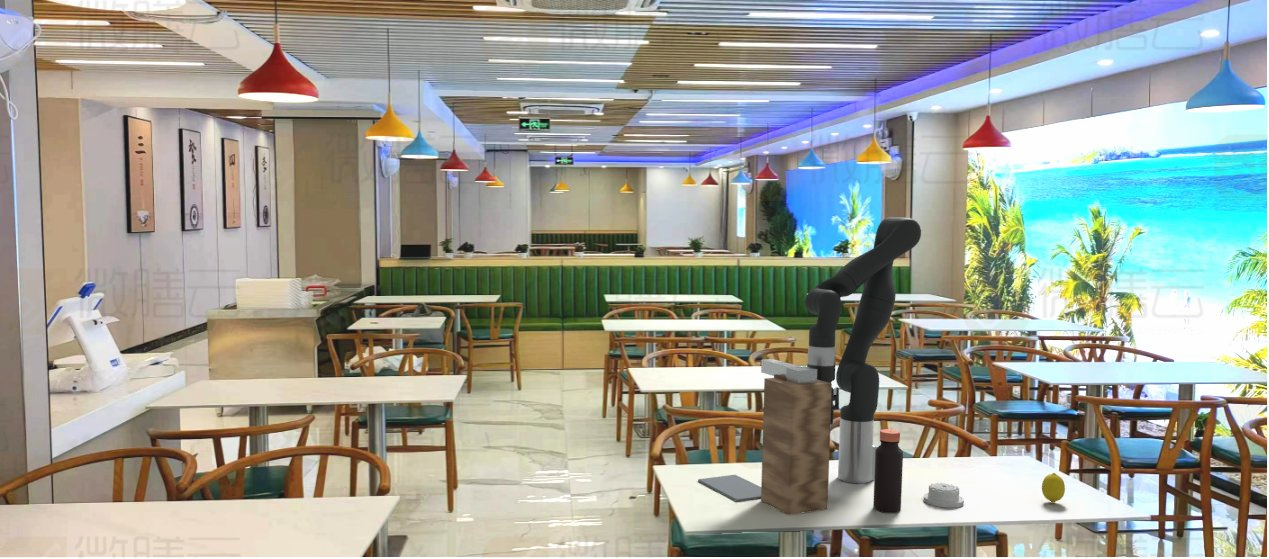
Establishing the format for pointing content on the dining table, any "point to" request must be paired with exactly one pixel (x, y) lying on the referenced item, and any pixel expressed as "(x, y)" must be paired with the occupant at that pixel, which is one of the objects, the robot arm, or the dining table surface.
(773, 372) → the grey block
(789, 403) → the tall wooden block
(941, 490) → the grey cake on plate
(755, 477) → the dining table surface
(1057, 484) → the lemon
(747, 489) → the mat
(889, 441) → the bottle
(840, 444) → the robot arm
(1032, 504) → the dining table surface
